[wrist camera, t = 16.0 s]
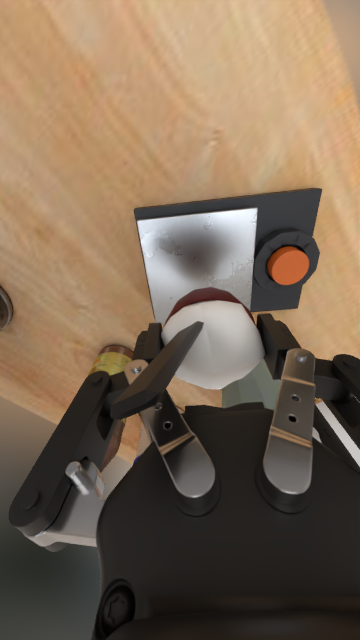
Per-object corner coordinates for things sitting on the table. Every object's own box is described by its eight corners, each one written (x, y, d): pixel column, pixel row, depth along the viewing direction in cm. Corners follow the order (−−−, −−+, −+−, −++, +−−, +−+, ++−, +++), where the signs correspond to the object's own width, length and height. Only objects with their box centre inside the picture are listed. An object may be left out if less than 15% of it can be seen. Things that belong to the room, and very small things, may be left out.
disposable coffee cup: (230, 396, 40) (253, 501, 27) (194, 360, 35) (201, 465, 22) (289, 370, 36) (346, 476, 23) (256, 325, 31) (307, 427, 19)
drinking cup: (320, 410, 42) (415, 572, 25) (277, 419, 43) (339, 577, 26) (318, 383, 38) (429, 553, 21) (271, 394, 39) (339, 560, 22)
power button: (265, 280, 25) (270, 286, 24) (269, 247, 23) (274, 252, 22) (299, 277, 25) (305, 283, 24) (305, 244, 23) (312, 248, 22)
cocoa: (249, 345, 20) (317, 522, 10) (179, 358, 21) (177, 532, 11) (237, 236, 15) (352, 367, 5) (146, 258, 16) (84, 409, 6)
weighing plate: (156, 322, 28) (156, 324, 27) (137, 219, 21) (136, 220, 21) (248, 314, 27) (249, 317, 27) (256, 206, 21) (257, 207, 20)
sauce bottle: (96, 340, 33) (10, 512, 16) (139, 345, 34) (98, 517, 17) (99, 372, 37) (29, 540, 20) (138, 376, 37) (102, 543, 20)
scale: (155, 314, 31) (153, 327, 28) (136, 207, 24) (130, 212, 21) (295, 302, 30) (305, 315, 27) (317, 187, 22) (334, 189, 20)
